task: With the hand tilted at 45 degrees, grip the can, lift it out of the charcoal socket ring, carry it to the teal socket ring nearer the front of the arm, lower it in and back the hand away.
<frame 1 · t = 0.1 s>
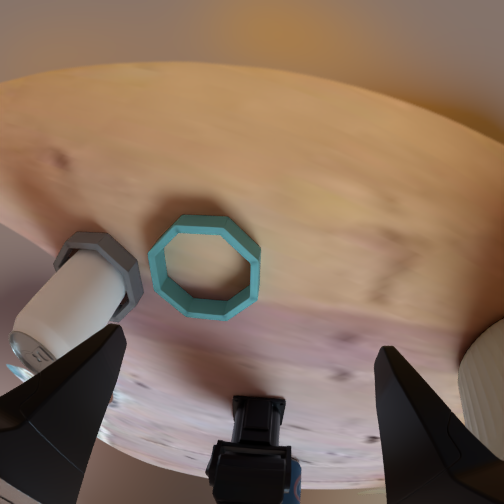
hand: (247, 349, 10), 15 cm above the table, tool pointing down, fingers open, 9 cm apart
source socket: (101, 272, 28), on the table
canister: (495, 345, 29), on the table
can: (102, 271, 28), resting in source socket
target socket: (207, 264, 26), on the table
soda can: (282, 461, 46), on the table
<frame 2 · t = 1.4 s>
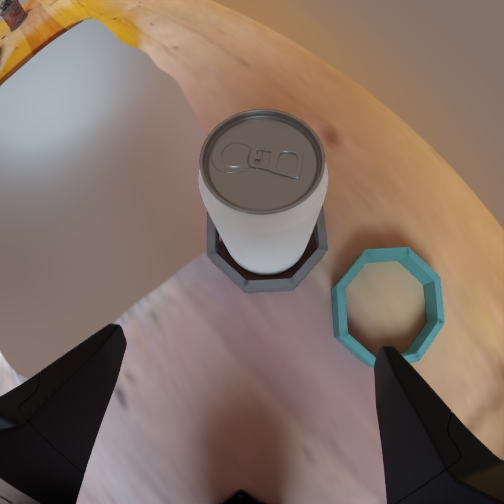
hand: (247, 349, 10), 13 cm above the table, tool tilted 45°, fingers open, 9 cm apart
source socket: (266, 236, 25), on the table
can: (266, 237, 25), resting in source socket
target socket: (385, 308, 23), on the table
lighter: (20, 23, 44), on the table
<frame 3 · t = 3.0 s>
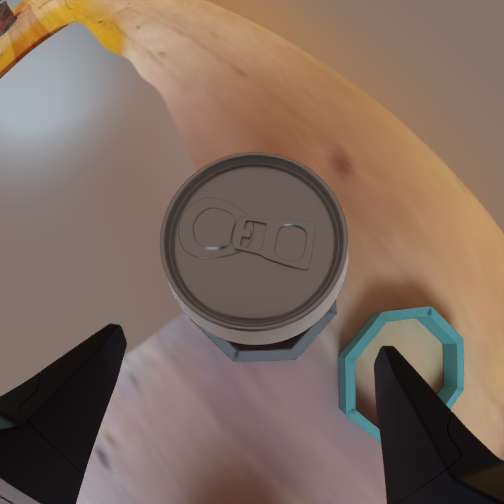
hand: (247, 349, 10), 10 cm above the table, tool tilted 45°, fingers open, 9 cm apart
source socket: (262, 292, 20), on the table
can: (263, 292, 21), resting in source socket
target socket: (399, 373, 18), on the table
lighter: (8, 27, 41), on the table
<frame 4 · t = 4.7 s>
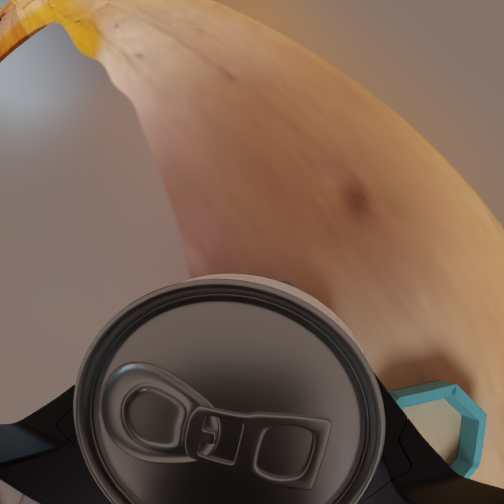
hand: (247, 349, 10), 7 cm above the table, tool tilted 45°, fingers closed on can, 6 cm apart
can: (254, 368, 16), resting in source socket, touching gripper
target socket: (410, 452, 14), on the table
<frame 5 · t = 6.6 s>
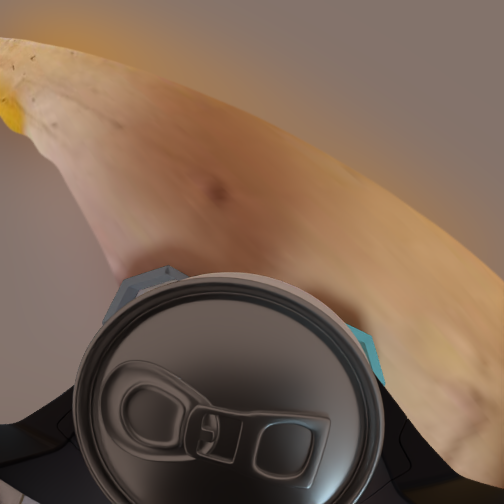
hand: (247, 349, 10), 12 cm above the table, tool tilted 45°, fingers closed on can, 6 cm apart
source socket: (169, 332, 22), on the table
can: (254, 367, 16), point 5 cm above the table, touching gripper
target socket: (314, 379, 21), on the table
when the fingers open (8 cm above the table, at t = 8.6 s): can stays where it is, resting in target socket.
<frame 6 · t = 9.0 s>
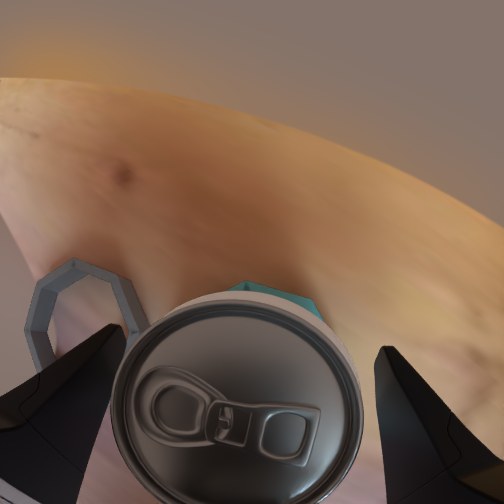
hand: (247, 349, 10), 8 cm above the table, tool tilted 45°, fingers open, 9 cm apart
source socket: (89, 333, 18), on the table
can: (256, 367, 17), resting in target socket
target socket: (255, 365, 17), on the table
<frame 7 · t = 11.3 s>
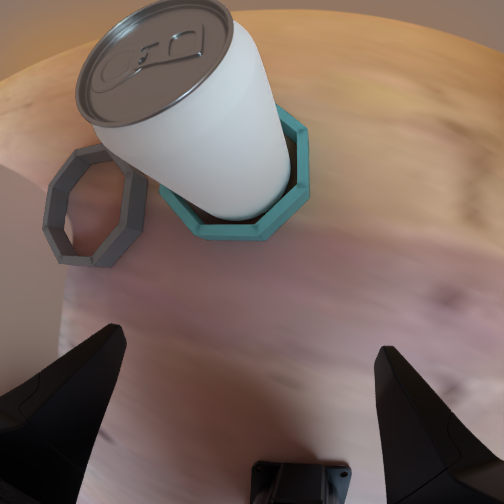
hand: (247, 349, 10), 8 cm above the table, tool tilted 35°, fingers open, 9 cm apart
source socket: (98, 208, 21), on the table
can: (241, 173, 19), resting in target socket
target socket: (238, 171, 19), on the table
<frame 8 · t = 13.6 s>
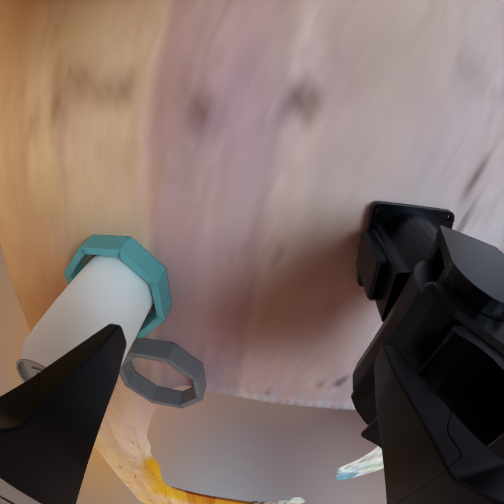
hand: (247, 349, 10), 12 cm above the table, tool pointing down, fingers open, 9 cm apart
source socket: (163, 368, 30), on the table
can: (123, 279, 25), resting in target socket
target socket: (121, 282, 25), on the table
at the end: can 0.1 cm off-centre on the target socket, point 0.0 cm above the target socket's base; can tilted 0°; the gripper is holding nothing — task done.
